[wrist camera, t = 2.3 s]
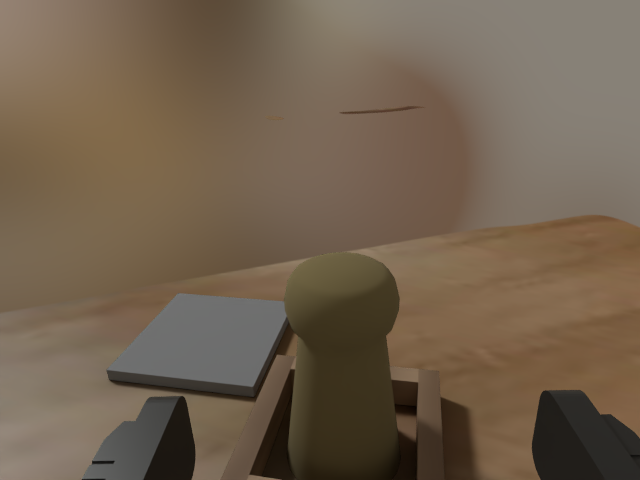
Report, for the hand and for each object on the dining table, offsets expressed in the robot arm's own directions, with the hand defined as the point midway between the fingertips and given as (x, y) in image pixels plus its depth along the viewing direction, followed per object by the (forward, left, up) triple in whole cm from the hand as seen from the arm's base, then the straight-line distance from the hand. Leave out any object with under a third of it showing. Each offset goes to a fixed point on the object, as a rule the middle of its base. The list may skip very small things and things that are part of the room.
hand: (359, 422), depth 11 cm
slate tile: (-13, +18, -12) cm, 25 cm away
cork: (-2, +10, -12) cm, 16 cm away
